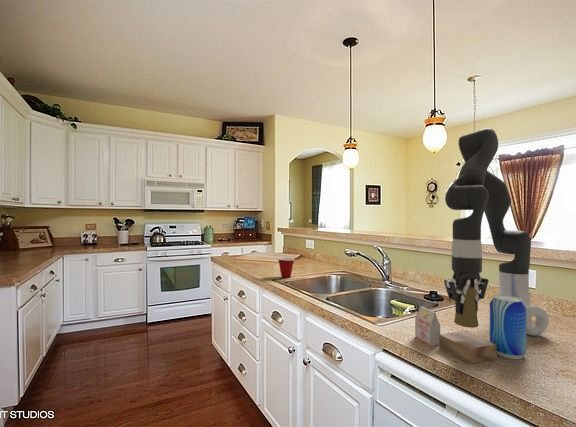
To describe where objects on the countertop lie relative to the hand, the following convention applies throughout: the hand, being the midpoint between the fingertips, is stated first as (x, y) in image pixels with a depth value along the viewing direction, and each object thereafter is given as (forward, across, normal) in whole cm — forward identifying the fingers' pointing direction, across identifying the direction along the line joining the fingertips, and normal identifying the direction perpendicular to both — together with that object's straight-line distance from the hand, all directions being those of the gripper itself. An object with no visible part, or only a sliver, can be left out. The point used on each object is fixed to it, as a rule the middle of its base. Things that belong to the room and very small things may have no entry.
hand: (466, 314), depth 86 cm
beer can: (+11, -11, +3) cm, 16 cm away
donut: (+11, -31, -4) cm, 33 cm away
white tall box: (+11, +5, -10) cm, 16 cm away
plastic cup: (+12, +24, -111) cm, 114 cm away
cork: (+3, 0, 0) cm, 3 cm away
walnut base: (+11, 0, 0) cm, 11 cm away
